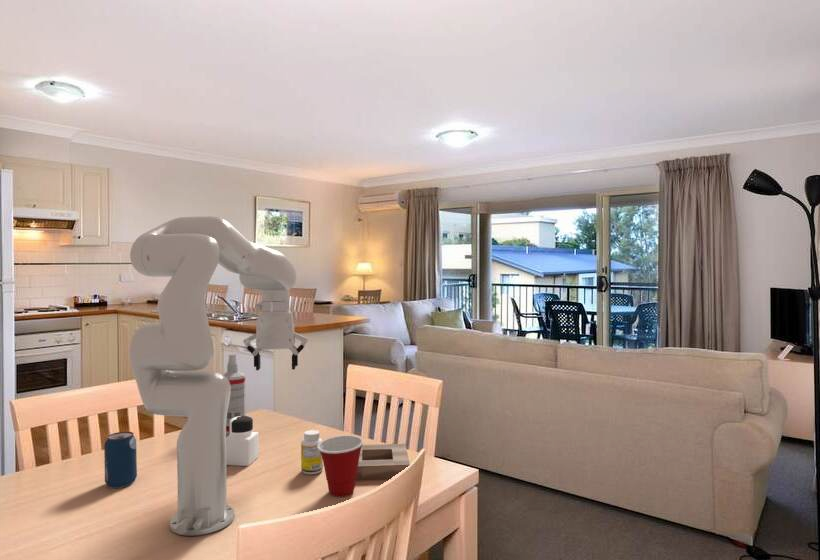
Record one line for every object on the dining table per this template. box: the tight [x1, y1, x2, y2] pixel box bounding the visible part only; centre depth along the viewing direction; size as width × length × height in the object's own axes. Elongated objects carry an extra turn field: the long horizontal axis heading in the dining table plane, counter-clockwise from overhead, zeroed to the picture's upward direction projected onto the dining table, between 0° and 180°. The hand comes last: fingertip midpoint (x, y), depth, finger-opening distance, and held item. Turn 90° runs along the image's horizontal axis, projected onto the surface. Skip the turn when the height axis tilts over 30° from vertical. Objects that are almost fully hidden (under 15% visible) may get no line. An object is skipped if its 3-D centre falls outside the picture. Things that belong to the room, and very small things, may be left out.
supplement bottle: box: [300, 429, 324, 475], centre depth 139 cm, size 6×6×10 cm
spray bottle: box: [222, 353, 247, 435], centre depth 173 cm, size 8×8×25 cm
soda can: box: [103, 431, 138, 489], centre depth 131 cm, size 7×7×12 cm
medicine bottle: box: [226, 415, 260, 467], centre depth 146 cm, size 7×7×12 cm
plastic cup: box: [317, 435, 364, 498], centre depth 126 cm, size 11×11×12 cm
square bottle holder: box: [356, 443, 411, 481], centre depth 141 cm, size 16×16×4 cm
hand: (276, 369), depth 148 cm, fingers open, 9 cm apart
